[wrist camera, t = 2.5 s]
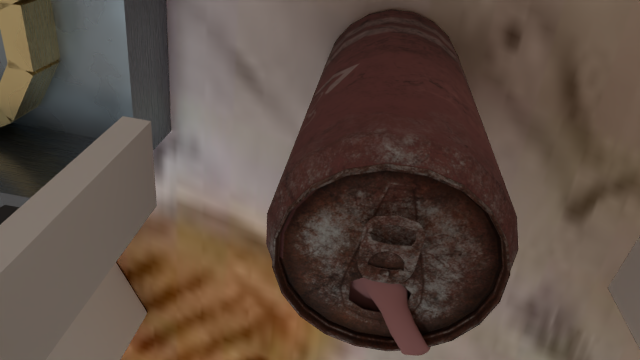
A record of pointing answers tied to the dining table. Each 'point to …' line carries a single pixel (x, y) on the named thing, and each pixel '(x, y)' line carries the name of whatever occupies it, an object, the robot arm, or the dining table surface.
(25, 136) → the bolted ring bracket
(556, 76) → the dining table surface
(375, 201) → the can
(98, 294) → the milk
